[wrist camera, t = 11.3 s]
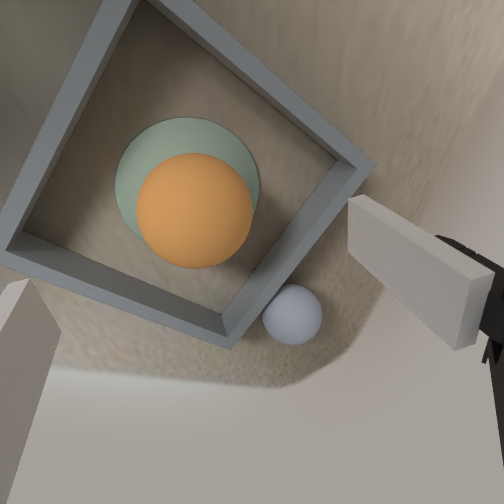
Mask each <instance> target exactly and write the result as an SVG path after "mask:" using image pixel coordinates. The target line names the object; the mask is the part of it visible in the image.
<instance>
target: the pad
mask: <svg viewBox="0 0 504 504" xmlns="http://www.w3.org/2000/svg"><path fill="white" fill-rule="evenodd" d="M186 153H201V154H207V155H211V156H214V157H216V158H218V159H220V160H222V161H224V162H226V163H227V164H228V165H230V166H231V167H232V168H233V169H234V170H235V171H236V172H237V173H238V174H239V175H240V176H241V178H242V179H243V181H244V183H245V184H246V186H247V188H248V191H249V193H250V196H251V201H252V209H253V215H254V213H255V210H256V207H257V203H258V198H259V177H258V172H257V168H256V166H255V163H254V160H253V158H252V156H251V154H250V152H249V151H248V150H247V148H246V147H245V145H244V144H243V143H242V142H241V141H240V140H239V139H238V138H237V137H236V136H235V135H234V134H233V133H231V132H230V131H229V130H227V129H225V128H224V127H222V126H220V125H218V124H216V123H214V122H211V121H208V120H204V119H199V118H192V117H181V118H173V119H169V120H165V121H162V122H159V123H157V124H154V125H152V126H151V127H149V128H147V129H146V130H144V131H143V132H142V133H140V134H139V135H138V136H137V137H136V138H135V139H134V140H133V141H132V142H131V143H130V144H129V146H128V147H127V149H126V150H125V152H124V153H123V155H122V158H121V160H120V162H119V165H118V168H117V172H116V178H115V195H116V201H117V205H118V208H119V211H120V213H121V215H122V218H123V219H124V221H125V223H126V224H127V226H128V227H129V228H130V230H131V231H132V232H133V233H134V234H135V235H136V236H137V237H138V238H139V239H140V240H142V241H143V242H144V243H146V241H145V240H144V238H143V236H142V234H141V231H140V229H139V226H138V222H137V216H136V203H137V197H138V194H139V190H140V188H141V186H142V184H143V182H144V180H145V178H146V177H147V175H148V174H149V173H150V172H151V171H152V170H153V169H154V168H155V167H156V166H157V165H159V164H160V163H161V162H163V161H165V160H166V159H169V158H171V157H173V156H176V155H180V154H186ZM253 215H252V217H253ZM146 244H147V243H146ZM147 245H148V244H147Z"/></svg>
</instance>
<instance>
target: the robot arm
mask: <svg viewBox="0 0 504 504" xmlns="http://www.w3.org/2000/svg"><path fill="white" fill-rule="evenodd" d="M348 253H350V254H351V255H352V256H353V257H354V258H355V259H356V260H357V261H358V262H359V263H360V264H361V265H362V266H364V267H365V268H366V269H367V270H368V271H369V272H370V273H371V274H372V275H373V276H374V277H375V278H376V279H377V280H379V281H380V282H381V283H382V284H383V285H384V286H385V287H386V288H387V289H388V290H389V291H390V292H391V293H393V294H394V295H395V296H396V297H397V298H398V299H399V300H400V301H401V302H402V303H403V304H404V305H405V306H407V307H408V308H409V309H410V310H411V311H412V312H413V313H414V314H415V315H416V316H417V317H418V318H419V319H421V320H422V321H423V322H424V323H425V324H426V325H427V326H428V327H429V328H430V329H431V330H432V331H434V332H435V333H436V334H437V335H438V336H439V337H440V338H441V339H442V340H443V341H444V342H445V343H446V344H447V345H448V346H450V347H451V348H452V349H453V350H454V351H456V350H459V349H461V348H464V347H467V346H470V345H473V344H475V343H476V339H477V336H478V332H479V329H480V330H481V331H483V332H484V333H485V334H486V335H487V336H489V339H488V342H487V345H486V349H485V352H484V355H483V359H482V363H485V364H486V361H487V358H489V364H490V372H491V379H492V386H493V393H494V400H495V408H496V415H497V422H498V429H499V436H500V443H501V450H502V458H503V465H504V268H502V267H501V266H499V265H497V264H495V263H494V262H492V261H490V260H488V259H487V258H485V257H483V256H481V255H480V254H476V252H474V251H473V250H471V249H469V248H466V247H465V246H464V245H462V244H460V243H458V242H457V241H455V240H453V239H450V238H446V237H443V236H440V235H436V236H433V235H431V234H430V233H428V232H426V231H425V230H423V229H421V228H420V227H418V226H416V225H415V224H413V223H411V222H409V221H408V220H406V219H404V218H403V217H401V216H399V215H398V214H396V213H394V212H393V211H391V210H389V209H388V208H386V207H384V206H383V205H381V204H379V203H378V202H376V201H374V200H373V199H371V198H369V197H368V196H366V195H364V194H363V195H359V196H355V197H351V198H348ZM60 334H61V330H60V328H59V326H58V325H57V323H56V321H55V319H54V318H53V316H52V314H51V313H50V311H49V309H48V308H47V306H46V304H45V303H44V301H43V299H42V297H41V296H40V294H39V292H38V291H37V289H36V287H35V286H34V284H33V282H32V281H31V279H30V278H28V279H24V280H20V281H16V282H12V283H8V284H7V286H6V288H5V289H4V291H3V292H2V294H1V295H0V504H6V502H7V499H8V496H9V493H10V490H11V487H12V484H13V481H14V477H15V474H16V471H17V468H18V465H19V462H20V459H21V456H22V453H23V450H24V446H25V443H26V440H27V437H28V434H29V431H30V428H31V425H32V422H33V418H34V415H35V412H36V409H37V406H38V403H39V399H40V397H41V394H42V390H43V387H44V384H45V381H46V378H47V375H48V372H49V369H50V365H51V362H52V359H53V356H54V353H55V350H56V347H57V344H58V341H59V337H60Z"/></svg>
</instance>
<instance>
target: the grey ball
mask: <svg viewBox="0 0 504 504" xmlns="http://www.w3.org/2000/svg"><path fill="white" fill-rule="evenodd" d="M262 319H263V323H264V326H265V328H266V330H267V332H268V333H269V334H270V335H271V336H272V337H273V338H274V339H275V340H276V341H278V342H280V343H283V344H286V345H300V344H303V343H305V342H307V341H309V340H310V339H312V338H313V337H314V336H315V335H316V334H317V332H318V330H319V329H320V326H321V323H322V308H321V305H320V302H319V300H318V299H317V297H316V296H315V295H314V294H313V293H312V292H311V291H310V290H308V289H307V288H305V287H303V286H300V285H295V284H289V285H283V286H281V287H280V288H279V290H278V291H277V292H276V293H275V295H274V296H273V297H272V298H271V300H270V301H269V302H268V304H267V305H266V306H265V307H264V309H263V310H262Z"/></svg>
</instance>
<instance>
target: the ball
mask: <svg viewBox="0 0 504 504" xmlns="http://www.w3.org/2000/svg"><path fill="white" fill-rule="evenodd" d="M252 215H253V209H252V201H251V196H250V193H249V191H248V188H247V186H246V184H245V183H244V181H243V179H242V178H241V176H240V175H239V174H238V173H237V172H236V171H235V170H234V169H233V168H232V167H231V166H230V165H228V164H227V163H226V162H224V161H222V160H220V159H218V158H216V157H214V156H211V155H207V154H201V153H186V154H180V155H176V156H173V157H171V158H169V159H166V160H165V161H163V162H161V163H160V164H159V165H157V166H156V167H155V168H154V169H153V170H152V171H151V172H150V173H149V174H148V175H147V177H146V178H145V180H144V182H143V184H142V186H141V188H140V190H139V194H138V197H137V203H136V216H137V222H138V226H139V229H140V231H141V234H142V236H143V238H144V240H145V241H146V243H147V244H148V245H149V247H150V248H151V249H152V250H153V251H154V252H155V253H156V254H157V255H158V256H160V257H161V258H162V259H164V260H166V261H167V262H169V263H172V264H174V265H177V266H180V267H184V268H191V269H199V268H207V267H211V266H214V265H217V264H219V263H222V262H223V261H225V260H227V259H228V258H230V257H231V256H232V255H233V254H234V253H235V252H236V251H237V250H238V249H239V248H240V247H241V246H242V244H243V243H244V241H245V240H246V238H247V235H248V233H249V230H250V227H251V223H252Z"/></svg>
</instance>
